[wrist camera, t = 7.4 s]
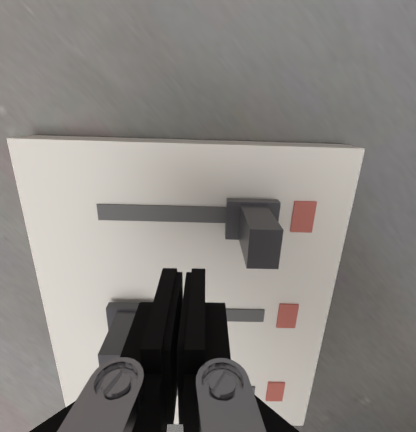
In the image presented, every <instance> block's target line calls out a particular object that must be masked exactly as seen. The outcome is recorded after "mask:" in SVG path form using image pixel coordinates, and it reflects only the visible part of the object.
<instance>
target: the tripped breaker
mask: <svg viewBox="0 0 416 432" xmlns="http://www.w3.org/2000/svg"><path fill="white" fill-rule="evenodd" d="M280 205H281V203H280V201H279V200H276V199H237V198H227V202H226V221H225V239H230V240H239V242H240V246H241V249H242V253H243V257H244V261H245V265H246V268H247V269H278V268H279V261H280V253H281V246H282V239H283V231H284V230H283V228H282V227H281V225H280V224H279V222H278V221H279V213H280Z"/></svg>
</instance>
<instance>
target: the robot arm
mask: <svg viewBox="0 0 416 432" xmlns="http://www.w3.org/2000/svg"><path fill="white" fill-rule="evenodd" d="M177 388H178V415H179V424H183V427H184V432H299V431H298V430H297V429H295V428H294V427H293V426H292V425H291V424H289V423H288V422H287V421H286V420H285V419H283V418H282V417H281V416H280V415H279V414H277V413H276V412H275V411H274V410H273V409H271V408H270V407H269V406H268V405H267V404H265V403H264V402H263V401H262V400H260V399H259V398H258V397H257V396H256V395H254V392H253V389H252V386H251V383H250V380H249V377H248V375H247V373H246V371H245V369H244V368H243V367H242V366H241V365H240V364H238V363H237V362H235V361H233V360H231V356H230V346H229V336H228V326H227V315H226V306H225V303H214V302H205V269H197V268H192V272H186V279H185V286H184V294H183V276H182V272H177V268H163V269H162V273H161V276H160V280H159V283H158V287H157V290H156V294H155V297H154V301H153V302H140V303H139V305H138V308H137V311H136V313H135V316H134V319H133V322H132V325H131V327H130V330H129V333H128V336H127V339H126V341H125V344H124V347H123V350H122V353H121V355H120V357H119V358H115V359H111V360H109V361H107V362H105V363H103V364H102V365H101V366H100V367H98V368H97V369H96V370H95V371H94V373H93V374H92V375H91V377H90V378H89V380H88V382H87V383H86V385H85V387H84V388H83V390H82V391H81V393H80V395H79V396H78V398H77V400H76V401H74V402H73V403H71V404H70V405H68V406H67V407H65V408H64V409H62V410H61V411H60V412H58V413H57V414H55V415H54V416H52V417H51V418H49V419H48V420H46V421H45V422H43V423H42V424H40V425H39V426H37V427H36V428H34V429H33V430H31V431H30V432H166V430H167V424H174V417H175V407H176V398H177Z"/></svg>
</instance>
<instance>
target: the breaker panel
mask: <svg viewBox="0 0 416 432" xmlns="http://www.w3.org/2000/svg"><path fill="white" fill-rule="evenodd" d="M7 142H8V147H9V151H10V156H11V161H12V165H13V170H14V174H15V179H16V183H17V188H18V192H19V197H20V201H21V206H22V211H23V215H24V220H25V224H26V229H27V233H28V238H29V242H30V247H31V251H32V256H33V261H34V265H35V270H36V274H37V279H38V283H39V288H40V292H41V297H42V301H43V306H44V311H45V315H46V320H47V324H48V329H49V333H50V338H51V342H52V347H53V351H54V356H55V361H56V365H57V370H58V374H59V379H60V383H61V388H62V392H63V397H64V402H65V406H66V407H67V406H68V405H70V404H71V403H73V402H74V401H76V400H77V398H78V396H79V395H80V393H81V391H82V390H83V388H84V387H85V385H86V383H87V382H88V380H89V378H90V377H91V375H92V374H93V373H94V371H95V370H96V369H97V368H98V367H99V361H98V353H99V351H100V348H101V346H102V344H103V342H104V340H105V337H106V335H107V333H108V324H107V316H106V307H107V305H108V303H109V302H134V303H140V302H153V301H154V297H155V294H156V290H157V287H158V283H159V280H160V276H161V273H162V269H163V268H177V272H182V276H183V294H184V286H185V279H186V272H192V268H197V269H205V302H214V303H225V306H226V315H227V326H228V336H229V346H230V356H231V360H233V361H235V362H237V363H238V364H240V365H241V366H242V367H243V368H244V369H245V371H246V373H247V375H248V377H249V380H250V383H251V386H252V389H253V392H254V395H256V396H257V397H258V398H259V399H260V400H262V401H263V402H264V403H265V404H267V405H268V406H269V407H270V408H271V409H273V410H274V411H275V412H276V413H277V414H279V415H280V416H281V417H282V418H283V419H285V420H286V421H287V422H288V423H289V424H291V425H292V426H303V424H304V420H305V415H306V411H307V406H308V402H309V397H310V393H311V388H312V384H313V379H314V375H315V370H316V366H317V362H318V357H319V353H320V348H321V344H322V339H323V335H324V330H325V326H326V321H327V317H328V312H329V308H330V303H331V299H332V294H333V290H334V285H335V281H336V276H337V272H338V268H339V263H340V259H341V254H342V250H343V245H344V241H345V236H346V232H347V227H348V223H349V218H350V214H351V209H352V205H353V200H354V196H355V191H356V187H357V183H358V178H359V174H360V169H361V165H362V160H363V156H364V151H365V148H360V147H356V146H351V145H346V144H326V143H292V142H257V141H223V140H188V139H154V138H119V137H85V136H50V135H29V136H21V137H13V138H7ZM227 198H237V199H276V200H279V201H280V203H281V205H280V213H279V221H278V222H279V224H280V225H281V227H282V228H283V230H284V231H283V239H282V246H281V253H280V261H279V268H278V269H247V268H246V265H245V261H244V257H243V253H242V249H241V246H240V242H239V240H230V239H225V221H226V202H227ZM174 424H179V415H178V388H177V398H176V407H175V417H174Z"/></svg>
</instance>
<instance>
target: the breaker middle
mask: <svg viewBox="0 0 416 432" xmlns="http://www.w3.org/2000/svg"><path fill="white" fill-rule="evenodd" d="M138 305H139V303H134V302H109V303H108V305H107V307H106V316H107V324H108V333H107V335H106V337H105V340H104V342H103V344H102V346H101V348H100V351H99V353H98V361H99V367H100V366H101V365H102V364H103V363H105V362H107V361H109V360H111V359H115V358H119V357H120V355H121V353H122V350H123V347H124V344H125V341H126V339H127V336H128V333H129V330H130V327H131V325H132V322H133V319H134V316H135V313H136V311H137V308H138Z"/></svg>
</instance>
